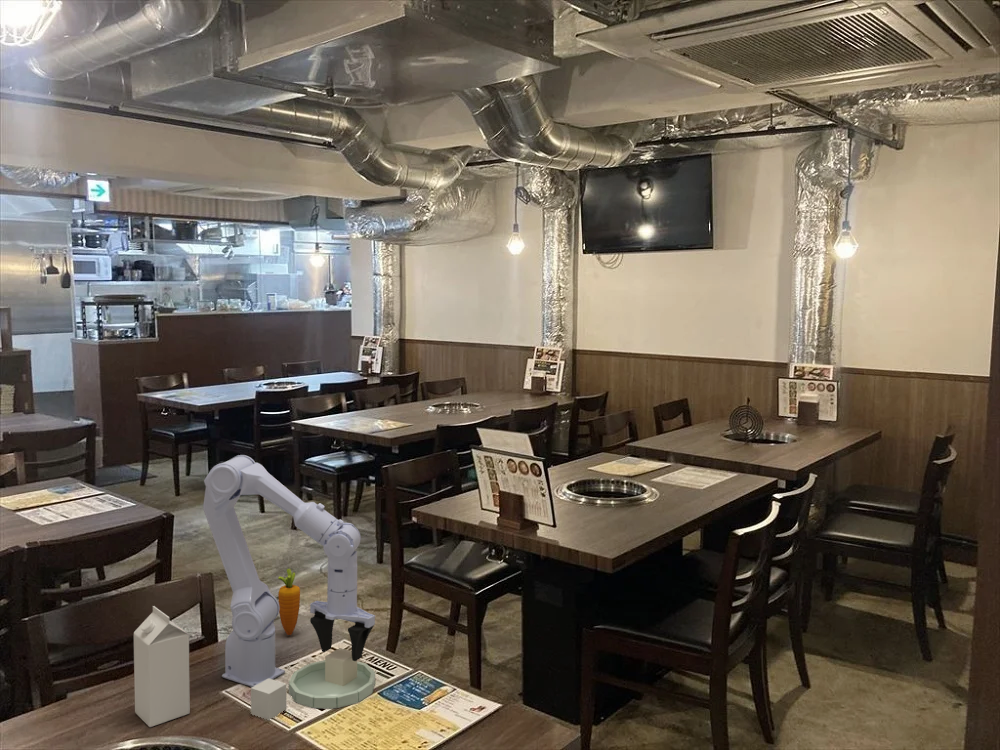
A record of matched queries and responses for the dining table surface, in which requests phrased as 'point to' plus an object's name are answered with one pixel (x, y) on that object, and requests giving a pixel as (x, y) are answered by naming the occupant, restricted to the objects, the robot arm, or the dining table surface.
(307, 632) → the dining table surface
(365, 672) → the serving bowl
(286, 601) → the carrot
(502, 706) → the dining table surface
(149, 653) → the milk carton
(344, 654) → the beige stone block
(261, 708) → the grey stone block
